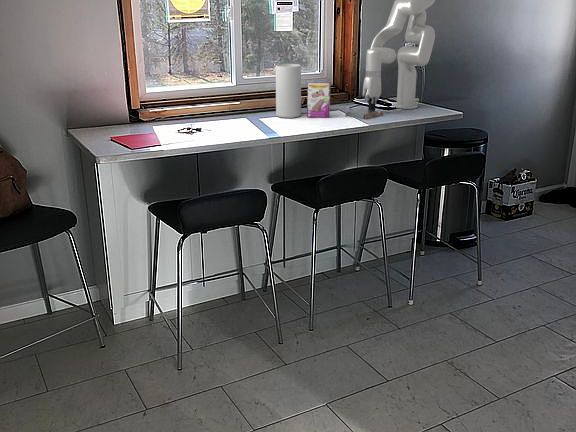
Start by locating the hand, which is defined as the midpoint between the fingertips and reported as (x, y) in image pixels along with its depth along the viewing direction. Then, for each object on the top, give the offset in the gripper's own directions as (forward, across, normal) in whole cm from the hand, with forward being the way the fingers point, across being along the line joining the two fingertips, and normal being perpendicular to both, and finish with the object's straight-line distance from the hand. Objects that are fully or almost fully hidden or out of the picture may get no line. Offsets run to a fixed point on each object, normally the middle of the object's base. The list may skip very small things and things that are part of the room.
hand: (371, 110), depth 322 cm
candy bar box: (+2, +24, -15) cm, 28 cm away
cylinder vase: (+2, +32, -28) cm, 43 cm away
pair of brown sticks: (+2, +6, 0) cm, 6 cm away
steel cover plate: (+2, +7, 0) cm, 8 cm away
